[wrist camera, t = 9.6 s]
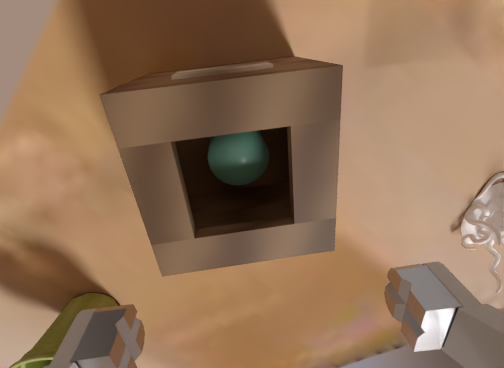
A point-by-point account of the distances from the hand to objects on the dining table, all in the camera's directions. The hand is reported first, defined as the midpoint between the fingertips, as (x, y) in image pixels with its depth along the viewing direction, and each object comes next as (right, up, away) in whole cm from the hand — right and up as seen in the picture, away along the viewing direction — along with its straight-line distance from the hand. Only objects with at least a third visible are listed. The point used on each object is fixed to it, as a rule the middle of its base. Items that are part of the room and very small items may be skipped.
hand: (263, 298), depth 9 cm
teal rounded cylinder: (-2, +8, +16) cm, 17 cm away
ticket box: (-2, +8, +16) cm, 18 cm away
